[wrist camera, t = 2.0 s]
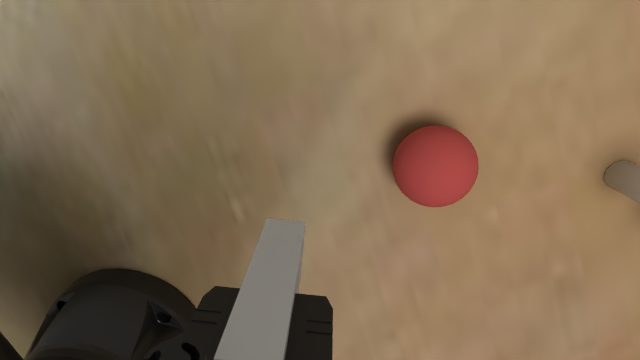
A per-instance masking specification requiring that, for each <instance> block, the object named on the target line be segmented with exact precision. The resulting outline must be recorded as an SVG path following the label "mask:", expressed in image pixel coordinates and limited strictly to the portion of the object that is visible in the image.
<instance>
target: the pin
mask: <svg viewBox="0 0 640 360" xmlns="http://www.w3.org/2000/svg"><path fill="white" fill-rule="evenodd" d="M604 182H605V183H606V185H608V186H609V187H611V188H613V189H615V190H617V191H618V192H620V193H622V194H624V195H626V196H628V197H629V198H631V199H633V200H635V201H637V202H639V203H640V166H639V165H637V164H634V163H632V162H630V161H626V160H622V161H618V162H615V163H613V164H612V165H611V166H609V167H608V169H607V170H606V172H605V174H604Z"/></svg>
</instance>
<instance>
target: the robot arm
mask: <svg viewBox="0 0 640 360" xmlns="http://www.w3.org/2000/svg"><path fill="white" fill-rule="evenodd" d="M304 233H305V222H300V221H290V220H280V219H271V218H267V220H266V222H265V225H264V228H263V230H262V233H261V236H260V238H259V241H258V243H257V246H256V249H255V251H254V254H253V257H252V259H251V262H250V264H249V267H248V270H247V272H246V275H245V278H244V280H243V283H242V285H241V288H240V289H239V288H229V287H220V286H215V287H214V288H212V289H211V290H210V291H209V292H208V293H207V294H205V295H204V296H203V298H202V300H201V302H200V304H199V306H198V308H197V311H196V310H195V308H194V307H193V305H192V304H191V303H190V302H189V301H188V300H187V299H186V298H185V297H184V296H183V295H182V294H181V293H180V292H179V291H177V290H176V289H175V288H173V287H172V286H170V285H168V284H167V283H165V282H163V281H161V280H159V279H157V278H155V277H152V276H150V275H147V274H143V273H140V272H135V271H130V270H120V269H113V270H103V271H98V272H94V273H91V274H88V275H86V276H84V277H82V278H80V279H79V280H77V281H76V282H75V283H73V284H72V285H71V286H70V287H69V288H68V289H67V290H66V291H65V292H64V293H63V294H62V295H61V296H60V297H59V298H58V299H57V300H56V301H55V302H54V303H53V305H52V306H51V308H50V309H49V311H48V313H47V315H46V317H45V319H44V321H43V323H42V325H41V327H40V329H39V331H38V333H37V334H36V336H35V338H34V340H33V342H32V344H31V346H30V348H29V350H28V352H27V354H26V356H25V358H24V360H332V332H333V325H332V323H333V308H332V306H331V305H330V303H329V301H328V299H327V297H325V296H316V295H306V294H298V292H299V285H300V277H301V266H302V255H303V244H304ZM0 360H23V358H22V357H21V356H20V355H19V354H18V352H17V351H16V350H15V349H14V348H13V346H12V345H11V344H10V343H9V342H8V340H7V339H6V338H5V337H4V336H3V334H2V333H1V332H0Z"/></svg>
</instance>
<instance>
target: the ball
mask: <svg viewBox="0 0 640 360" xmlns="http://www.w3.org/2000/svg"><path fill="white" fill-rule="evenodd" d="M393 174H394V178H395V181H396V183H397V185H398V187H399V189H400V190H401V191H402V193H403V194H404V195H405V196H407V197H408V198H409V199H410V200H412V201H414V202H415V203H418V204H420V205H423V206H428V207H442V206H447V205H450V204H453V203H455V202H457V201H459V200H460V199H462V198H463V197H464V196H465V195H466V194H467V193H468V192H469V191H470V190H471V188H472V187H473V185H474V183H475V181H476V178H477V174H478V157H477V154H476V151H475V149H474V147H473V145H472V143H471V142H470V141H469V140H468V139H467V138H466V137H465V136H464V135H463V134H462V133H460V132H459V131H457V130H455V129H452V128H450V127H446V126H437V125H433V126H426V127H423V128H420V129H418V130H415V131H414V132H412V133H411V134H409V135H408V136H407V137H406V138H405V139H404V140H403V141H402V142H401V143H400V145H399V146H398V148H397V150H396V152H395V155H394V159H393Z"/></svg>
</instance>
